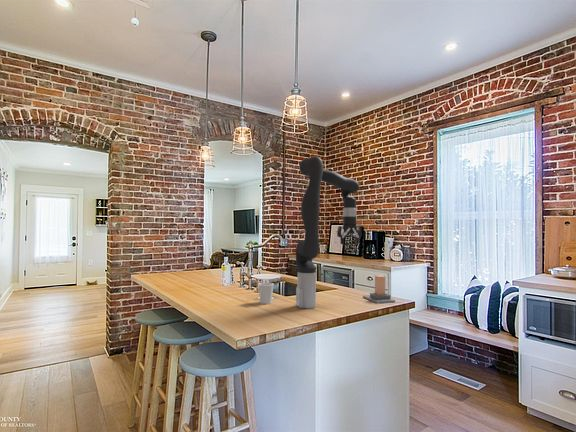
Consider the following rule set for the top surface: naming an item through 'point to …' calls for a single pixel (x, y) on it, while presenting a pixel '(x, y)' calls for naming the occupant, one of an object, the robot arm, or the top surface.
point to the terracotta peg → (379, 285)
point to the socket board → (379, 298)
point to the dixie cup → (265, 292)
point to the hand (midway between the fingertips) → (349, 244)
